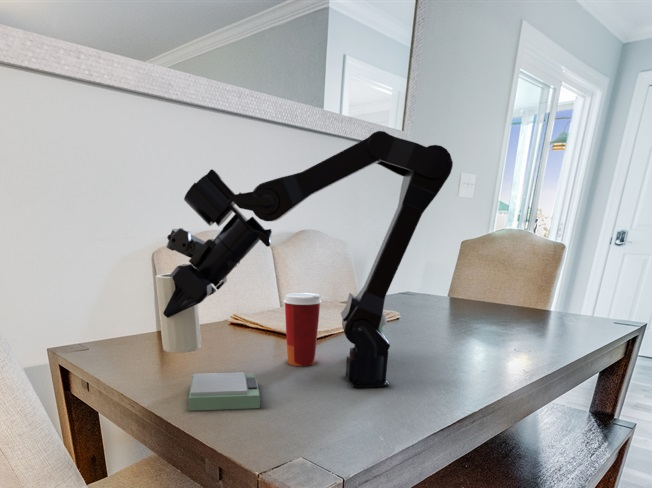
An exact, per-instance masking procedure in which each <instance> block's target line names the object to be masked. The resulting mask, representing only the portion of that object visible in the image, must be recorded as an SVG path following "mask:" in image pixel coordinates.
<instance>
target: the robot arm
mask: <svg viewBox="0 0 652 488" xmlns="http://www.w3.org/2000/svg"><path fill="white" fill-rule="evenodd" d="M375 164H376V165H378V166H381V167H382V168H384V169H387V170H388V171H390V172H392V173H393V174H396V175H398V176H401V177H402V182H401V187H400V191H399V198H398V204H397V207H396V210H395V212H394V214H393V216H392V219H391V221H390V223H389V226H388V229H387V231H386V232H385V236H384V239H383V240H382V243H381V245H380V248H379V250H378V252H377V255H376V256H375V259H374V261H373V264H372V266H371V268H370V271H369V273H368V276H367V277H366V280H365V282H364V285H363V286H362V288H361V289H360V291H359V292H358V293H357V294H356V295H354V294H353V293H351V292H350V293H348V297H347V300H346V305H345V307H344V309H342V311H341V312H340V316H341V319H342V320H341V325H342V330H343V333H344V336H345V337H346V339H347V341H349V342H350V343H351V344H353V345H354V344H355V346H356V347H354V346H353V347H349V355H347V356H346V360H345V364H346V365H345V379H346V380H347V381H348V382H349V383H350V385H351V386H352V387H353V388H355V389H364V388H365V389H366V388H388V387H390V384H389V382H388V381H387V374H388V373H387V372H388V362H389V361H388V360H389V353H390V352H389V349H390V347H391V344H390V342H389V341H388V339H387V338H386V336H385V335H384V333H383V331H382V332H381V331H380V330H379V326H380V322H381V318H382V314H383V312H384V306H385V299H386V296H387V293H388V292H389V290H390V287H391V285H392V282H393V280H394V278H395V276H396V274H397V271H398V270H399V267H400V265H401V263H402V260H403V258H404V256H405V254H406V252H407V249H408V247H409V245H410V243H411V240H412V238H413V235H414V233H415V232H416V229H417V226H418V225H419V222H420V220H421V218H422V216H423V214H424V212H425V211H426V210H427V208H428V206H429V205H431V203H432V202H433V201H434V199H435V198H436V197H437V196H438V194H439V192H440V191H441V189H442V187H443V186H444V185H445V184H446V182H447V180H448V179H449V177H450V175H451V174H452V170H453V166H454V162H453V158H452V156H451V153H450V152H449V150H448V149H447V148H445V147H444V146H443V145H439V144H431V145H428V146H425V145H422V144H420V143H417V142H415V141H411V140H408V139H403V138H402V137H401V138H400V137H397V136H394V135H391V134H389V133H388V132H387V131H385V130H377V131H375V132H373V133H371V134H370V135H369V136H368V137H366V138H364V139H362V140H360V141H359V142H357V143H355V144H353V145H351V146H349V147H347V148H345V149H342V150H341V151H340V152H338V153H336V154H333V155H331V156H330V157H327V158H325V159H323V160H322V161H320V162H318V163H316V164H315V165H312V166H310V167H308V168H307V169H305V170H303V171H300V172H297V173H293V174H289V175H285V176H281V177H278V178H274V179H271V180H268V181H264V182H261V183H259V184H258V185H257V186H255V188H254V189H253V191H248V192H238V193H236V192H235V191H233V190H232V189H231V188H230V187H229V185H228V184H226V182H225V181H224V180H223V179H222V177H221V175H220V174H219V173H218V172H217V171H216V170H214V169H213V168H212V169H210V170H209V171H208V172H207V173H206V174H205V175H203V176H202V177H201V178H200V179H198V180H197V181H196V182H194V183H193V184H192V185H191V186H190V187H189V189H188V190H187V192H186V194H184V197H183V201H184V202H185V203H186V204H187V206H189V208H191V209H192V210H193V211H194V212H195V213H196V214H197V216H198V217H200V218H201V219H202V220H203V221H204V222H205V223H206V224H207V225H208V226H209V227H210V226H211V227H212V226H213V225H214V224H215V225H216V226H217V227H220V226H222V224H224V223H225V222H226V221H227V220H228V218H229V217H230V216H231V215H232V214H233V213H234V215H233V216H231V218H230V219H229V220H228V221H227V222H226V224H225V225H224V226H223V227H222V228H221V229H220V230H219V232H218V233H217V234H216V235H214V237H213V238H208V239H207V240H206V241H205V240H203V239H201V238H199V237H197V236H195V235H193V234H192V233H191V231H188V230H185V229H184V228H183V227H180V228H172V229H171V232H170V234H168V235H167V237H166V238H167V243H166V245H165V247H166V249H168V250H170V251H173V252H174V251H175V252H177V253H179V254H181V255H183V256H185V257H188V258H190V259H189V260H188V262H189V263H183V264H180V265H177V266H176V267H175V269H173V270H172V272H170V273H171V274H170V275H171V277H172V278H173V281H174V284H175V290H174V292H173V295H172V297H171V299H170V300H169V302H168V304H167V306H166V308H165V310H164V312H163V314H164V315H165V316H166V317H167V318H169V317H171V316H173V315H175V314H177V313H179V312H181V311H184V310H186V309H188V308H190V307H192V306H195V305H197V304H198V305H200V304H201V303H202V302H204V301H205V300H206V298H208V297H210V296H211V295H214V294H215V293H217V291H219V290H221V289H222V287H224V286H225V284H226V283H227V282H228V275H230V273H231V272H232V271H233V270H234V269H235V268H236V267H238V266H239V265H240V263H241V261H242V260H244V258H245V257H246V256H247V255H248V254H249V253H250V252H251V251H252V249H253V248H254V247H255V246H256V245H257V244H258V243H259V242H260V241H261V243H262V244H263V245H264V246H265V247H267V248H268V247H270V246H272V244H273V243H272V234H273V229H272V228H268V229H265V227H264V226H263V225H262V224H261V223H260V222H259V221H258V220H257V219H256V218H255V217H254V216H256V217H257V218H258V219H259V220H261V221H264V222H277V221H279V220H281V219H282V218H283V217H285V216H286V215H288V214H289V213H290V212H292V211H293V210H294V209H295V208H296V207H298V206H299V205H300V204H302V203H303V202H304V201H306V200H307V199H308V198H309V197H311V196H312V195H314V194H317V193H319V192H321V191H323V190H324V189H327V188H329V187H331V186H333V185H335V184H337V183H339V182H340V181H343V180H344V179H346V178H349V177H350V176H352V175H354V174H356V173H358V172H361V171H362V170H365V169H366V168H369V167H371V166H372V165H375ZM235 205H236V206H235ZM239 209H242V210H246V211H250V212H252V213H253V214H254V216H251V217H250V218H247V217H246V216H245V215H243V213H242V212H241V211H240V210H239Z"/></svg>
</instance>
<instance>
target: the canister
mask: <svg viewBox="0 0 652 488" xmlns="http://www.w3.org/2000/svg"><path fill="white" fill-rule="evenodd" d="M171 273H172V272H170V273H159V274H156V275H155V276H154V277H155V285H156V297H157V305H158V314H159V324H160V332H161V333H160V334H161V343H162V349H163V351H164V352H167V353H171V354H172V353H173V354H185V353H191V352H196V351H198V350H200V349H201V348H202V339H201V326H200V313H199V304H197V305H195V306H192V307H190V308H188V309H186V310H184V311H181V312H179V313H177V314H175V315H173V316H171V317H169V318H167V317H166V316H165V315H164V314H163V312H164V310H165V308H166V306H167V304H168V302H169V300H170V299H171V297H172V295H173V292H174V290H175V284H174V281H173V278H172V277H171V275H170V274H171Z"/></svg>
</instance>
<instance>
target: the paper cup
mask: <svg viewBox="0 0 652 488" xmlns="http://www.w3.org/2000/svg"><path fill="white" fill-rule="evenodd" d="M282 302H283V303H284V311H285V313H284V314H285V333H286V334H285V335H286V336H285V337H286V355H287V364H289V366H290V365H291V366H295V367H309V366H312V365H314V364H315V360H316V352H317V342H318V341H317V340H318V332H319V321H320V320H319V319H320V309H321V303H322V302H323V301H322V300H321V296H320V294H318V293H316V292H315V293H314V292H290V293H286V294H285V296H284V299H283V301H282Z"/></svg>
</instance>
